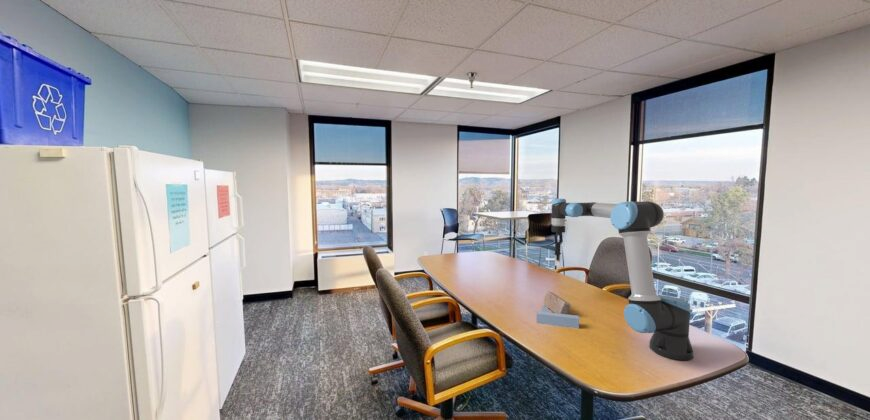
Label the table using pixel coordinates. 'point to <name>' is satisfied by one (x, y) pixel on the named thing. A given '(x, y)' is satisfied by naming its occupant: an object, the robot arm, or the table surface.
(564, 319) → the board
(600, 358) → the table surface
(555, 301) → the brick
